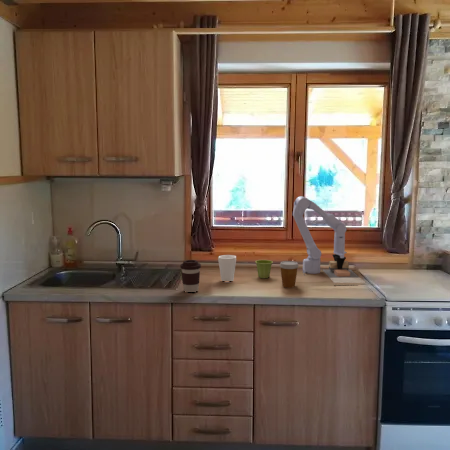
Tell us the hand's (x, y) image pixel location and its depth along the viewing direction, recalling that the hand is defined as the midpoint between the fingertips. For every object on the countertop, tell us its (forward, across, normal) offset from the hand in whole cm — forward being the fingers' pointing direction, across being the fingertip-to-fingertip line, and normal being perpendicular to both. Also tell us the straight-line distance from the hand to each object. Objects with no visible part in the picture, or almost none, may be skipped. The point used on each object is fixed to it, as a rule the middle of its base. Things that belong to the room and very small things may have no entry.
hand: (338, 268), depth 261 cm
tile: (+2, -7, 0) cm, 8 cm away
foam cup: (+4, -12, +62) cm, 63 cm away
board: (+3, -9, 0) cm, 10 cm away
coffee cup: (+4, -31, +80) cm, 86 cm away
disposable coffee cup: (+4, -23, +31) cm, 39 cm away
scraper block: (+1, 0, 0) cm, 1 cm away
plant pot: (+4, -5, +42) cm, 42 cm away
